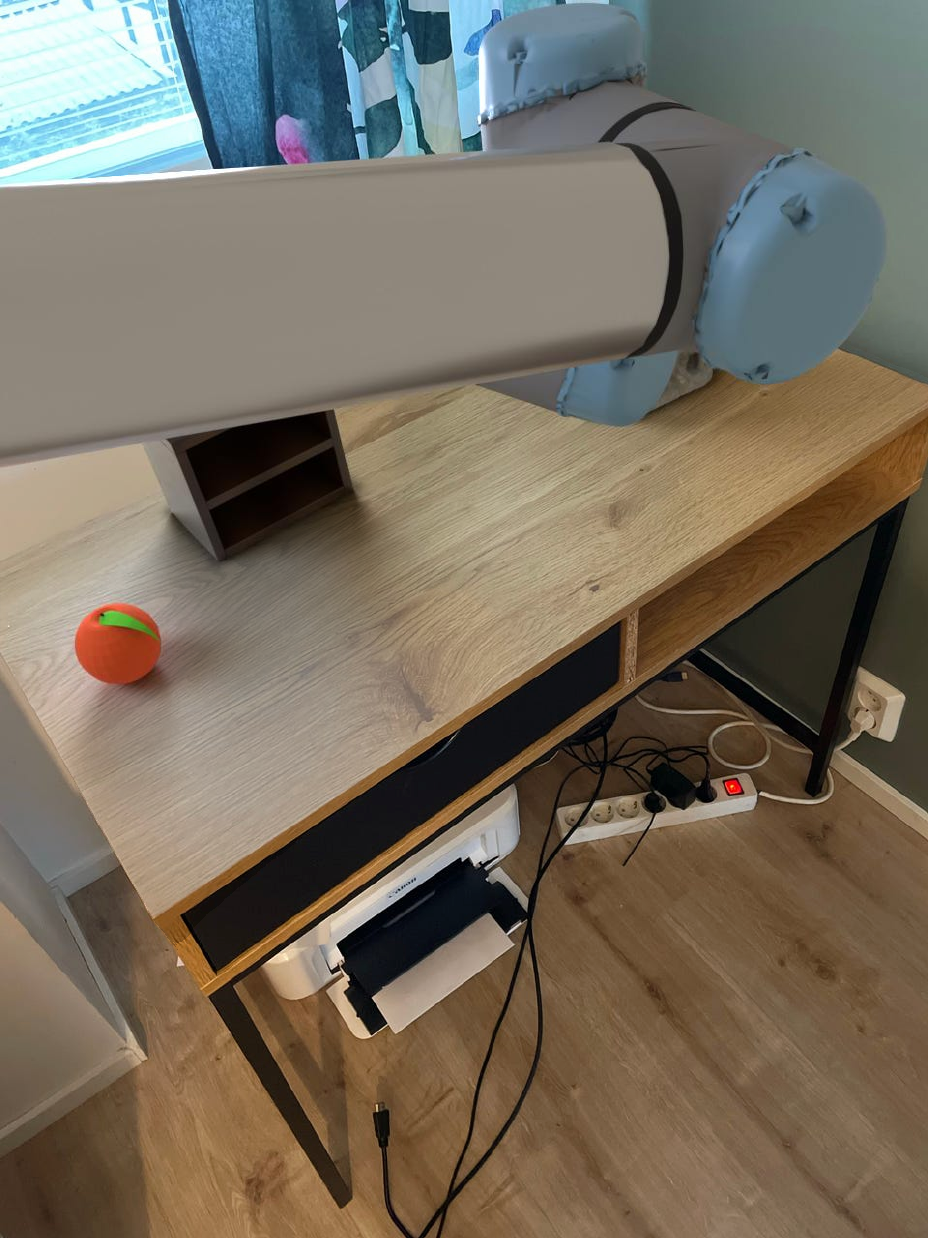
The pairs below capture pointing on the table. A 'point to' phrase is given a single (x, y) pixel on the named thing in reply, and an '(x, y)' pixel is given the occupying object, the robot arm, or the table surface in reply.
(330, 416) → the shelf
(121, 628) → the clementine
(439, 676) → the table surface
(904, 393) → the table surface
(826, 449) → the table surface
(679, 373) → the ceramic cottage
